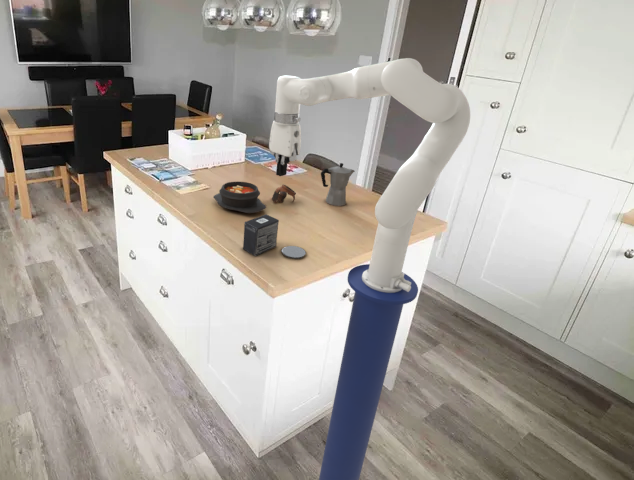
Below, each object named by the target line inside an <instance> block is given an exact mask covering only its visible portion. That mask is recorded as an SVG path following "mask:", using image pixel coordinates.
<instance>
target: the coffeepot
mask: <svg viewBox="0 0 634 480" xmlns="http://www.w3.org/2000/svg"><path fill="white" fill-rule="evenodd" d="M354 173H355V170H354V169H352V168H347V167H344V163H342V162H340V163H339V166H332V167H330V168H324V169H323V170H322V171H321V172H320V178H321V182H322V186H323V187H324V188H328V187H329V189H328V192H327V195H326V198H325V202H326V203H327V204H328V205H330V206H335V207H342V206H345V205H347V186H348V183H349V180H350V179H351V178H350V177H351V176H352V175H353V174H354ZM326 174H330V175H329V176H330V177H329V181H330V184H326V183H327V180H326ZM329 185H330V186H329Z"/></svg>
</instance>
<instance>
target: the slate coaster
mask: <svg viewBox="0 0 634 480" xmlns="http://www.w3.org/2000/svg"><path fill="white" fill-rule="evenodd" d="M281 254H282V255H283V256H284V257H285V258H288V259H292V260H300V259H303V258H305V256H306V251H305V249H304V248H302V247H299V246H296V245H287V246H284V247H283V248H282V249H281Z"/></svg>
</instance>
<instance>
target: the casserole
mask: <svg viewBox="0 0 634 480" xmlns="http://www.w3.org/2000/svg"><path fill="white" fill-rule="evenodd" d="M260 195H261V192H260V190H259V187H258V185H256V184H254V183H251V182H247V181H229V182H226V183H223V184H222V186H221V188H220V189H219V192H218V193H216V194H215V195H213V197H212V198H213V199H214V200H215V201H216V203H217V204H218V205H219V206H220V207H222V208H223V209H227V210H229V211H230V210H231V211H235V212H241V213H245V214H254V213H255V214H256V213H259V212H262V211H264V210H266V208H267V205H266V204H264V203H263V202H262V200H261V199H260V198H259V196H260Z"/></svg>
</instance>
